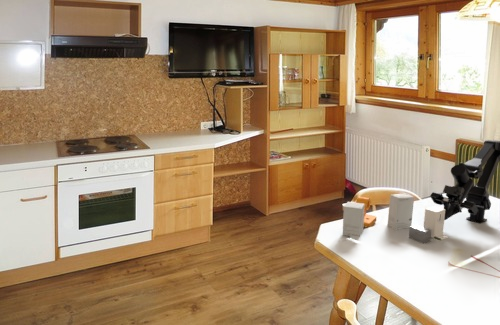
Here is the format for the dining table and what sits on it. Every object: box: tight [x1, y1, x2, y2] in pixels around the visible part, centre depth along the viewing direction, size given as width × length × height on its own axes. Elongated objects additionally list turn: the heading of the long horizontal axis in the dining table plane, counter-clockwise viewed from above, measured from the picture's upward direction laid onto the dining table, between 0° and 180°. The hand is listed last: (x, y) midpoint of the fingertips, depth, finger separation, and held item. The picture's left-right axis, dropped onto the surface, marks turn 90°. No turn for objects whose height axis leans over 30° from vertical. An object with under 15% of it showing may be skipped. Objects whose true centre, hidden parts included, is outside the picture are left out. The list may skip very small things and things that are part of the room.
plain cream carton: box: [423, 205, 445, 241], centre depth 177 cm, size 10×8×11 cm
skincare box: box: [387, 193, 415, 230], centre depth 188 cm, size 8×6×15 cm
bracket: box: [355, 196, 377, 228], centre depth 194 cm, size 11×7×12 cm, turn 147°
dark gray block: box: [408, 224, 432, 245], centre depth 175 cm, size 4×7×5 cm, turn 34°
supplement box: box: [342, 201, 365, 237], centre depth 183 cm, size 7×7×13 cm
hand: (443, 219), depth 183 cm, fingers closed
